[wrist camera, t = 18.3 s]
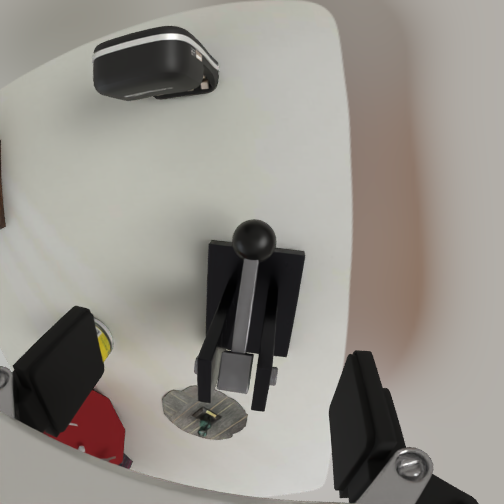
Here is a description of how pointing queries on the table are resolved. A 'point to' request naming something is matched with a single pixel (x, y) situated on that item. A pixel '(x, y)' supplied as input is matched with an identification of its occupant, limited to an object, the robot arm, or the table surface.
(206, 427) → the sculpture
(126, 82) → the battery charger
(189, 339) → the table surface
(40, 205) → the table surface
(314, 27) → the table surface
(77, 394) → the robot arm
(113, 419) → the alarm clock
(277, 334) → the bracket
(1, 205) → the plate
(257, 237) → the latch lever
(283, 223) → the table surface
